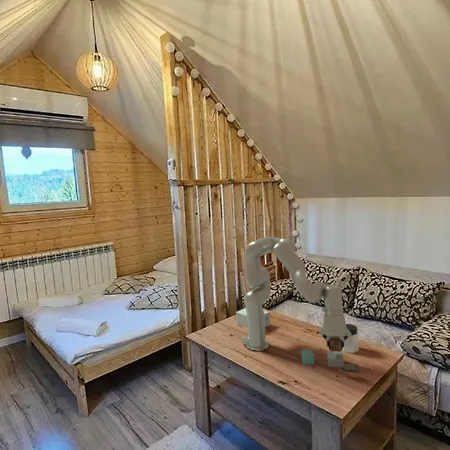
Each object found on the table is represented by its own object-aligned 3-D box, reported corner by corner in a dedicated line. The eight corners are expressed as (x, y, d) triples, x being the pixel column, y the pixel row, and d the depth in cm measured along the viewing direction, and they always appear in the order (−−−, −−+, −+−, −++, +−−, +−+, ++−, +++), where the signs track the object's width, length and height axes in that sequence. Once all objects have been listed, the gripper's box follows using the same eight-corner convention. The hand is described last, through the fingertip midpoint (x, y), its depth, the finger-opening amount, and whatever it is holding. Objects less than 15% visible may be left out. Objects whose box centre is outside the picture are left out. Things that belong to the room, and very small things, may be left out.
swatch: (342, 371, 150) (342, 370, 150) (341, 363, 157) (341, 362, 156) (358, 372, 148) (358, 371, 148) (356, 364, 155) (356, 363, 155)
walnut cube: (330, 351, 154) (329, 340, 154) (329, 346, 159) (329, 336, 158) (341, 351, 153) (341, 341, 152) (340, 346, 158) (340, 336, 157)
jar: (338, 345, 174) (337, 324, 172) (353, 344, 174) (352, 322, 173) (345, 354, 165) (344, 331, 163) (361, 352, 165) (360, 330, 164)
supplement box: (236, 326, 208) (235, 311, 207) (250, 319, 217) (249, 305, 216) (256, 333, 196) (255, 318, 195) (270, 325, 205) (269, 311, 204)
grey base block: (328, 367, 154) (327, 359, 154) (327, 359, 161) (327, 351, 161) (344, 367, 152) (343, 359, 152) (342, 359, 159) (342, 351, 159)
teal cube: (303, 365, 158) (303, 355, 157) (301, 359, 163) (300, 350, 162) (314, 364, 158) (313, 354, 157) (311, 359, 163) (311, 349, 162)
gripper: (315, 313, 153) (317, 351, 155) (354, 314, 148) (355, 353, 150) (315, 308, 160) (316, 343, 162) (352, 308, 155) (353, 345, 157)
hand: (335, 347), depth 156 cm, fingers closed on walnut cube, 5 cm apart
